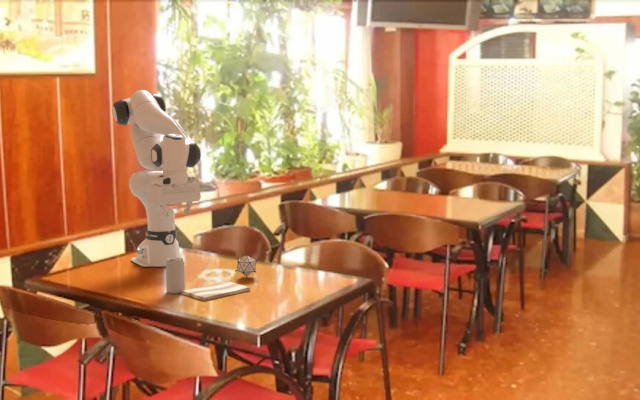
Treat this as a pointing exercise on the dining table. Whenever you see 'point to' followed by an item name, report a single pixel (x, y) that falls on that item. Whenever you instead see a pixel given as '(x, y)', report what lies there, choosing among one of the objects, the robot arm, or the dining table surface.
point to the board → (215, 290)
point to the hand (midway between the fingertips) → (176, 215)
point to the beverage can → (175, 275)
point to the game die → (246, 265)
